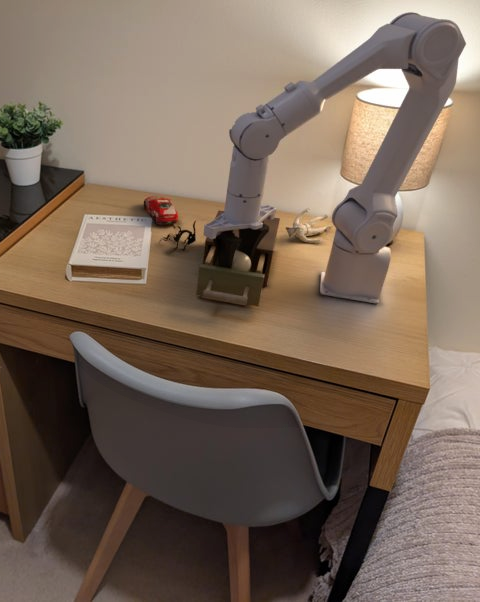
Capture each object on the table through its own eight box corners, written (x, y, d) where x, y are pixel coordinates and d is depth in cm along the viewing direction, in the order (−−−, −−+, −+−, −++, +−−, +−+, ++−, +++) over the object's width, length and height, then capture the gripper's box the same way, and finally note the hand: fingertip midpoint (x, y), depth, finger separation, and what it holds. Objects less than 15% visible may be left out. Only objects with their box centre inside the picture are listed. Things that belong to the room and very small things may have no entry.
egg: (254, 275, 98) (257, 254, 96) (238, 282, 96) (241, 261, 94) (228, 261, 102) (230, 242, 100) (212, 268, 100) (215, 248, 98)
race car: (141, 205, 135) (141, 189, 133) (163, 203, 135) (164, 187, 133) (156, 228, 124) (157, 211, 122) (180, 226, 124) (181, 209, 122)
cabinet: (266, 286, 103) (273, 250, 99) (201, 275, 106) (205, 240, 102) (273, 251, 114) (280, 218, 110) (214, 243, 118) (218, 210, 114)
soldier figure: (338, 239, 120) (314, 240, 112) (317, 249, 123) (292, 250, 115) (324, 207, 122) (299, 205, 113) (304, 217, 125) (278, 216, 117)
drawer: (255, 322, 92) (260, 292, 89) (189, 309, 95) (193, 280, 92) (266, 269, 106) (271, 242, 103) (209, 260, 109) (212, 234, 106)
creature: (158, 258, 114) (198, 254, 112) (154, 235, 112) (194, 229, 110) (161, 241, 121) (199, 236, 119) (157, 218, 118) (195, 213, 116)
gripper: (229, 209, 85) (219, 286, 92) (295, 189, 91) (280, 262, 99) (198, 194, 90) (190, 268, 98) (262, 176, 97) (250, 247, 104)
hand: (234, 264), depth 99 cm, fingers closed on egg, 4 cm apart
